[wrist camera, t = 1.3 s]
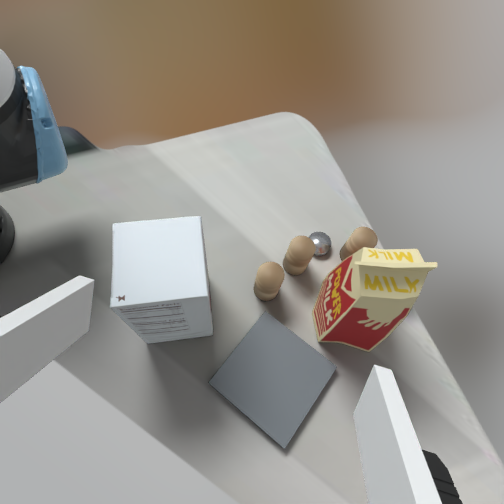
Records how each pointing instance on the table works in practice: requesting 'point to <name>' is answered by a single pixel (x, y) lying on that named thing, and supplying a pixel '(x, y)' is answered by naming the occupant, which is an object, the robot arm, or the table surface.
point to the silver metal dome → (320, 243)
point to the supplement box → (161, 278)
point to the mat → (273, 378)
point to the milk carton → (369, 296)
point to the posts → (304, 260)
